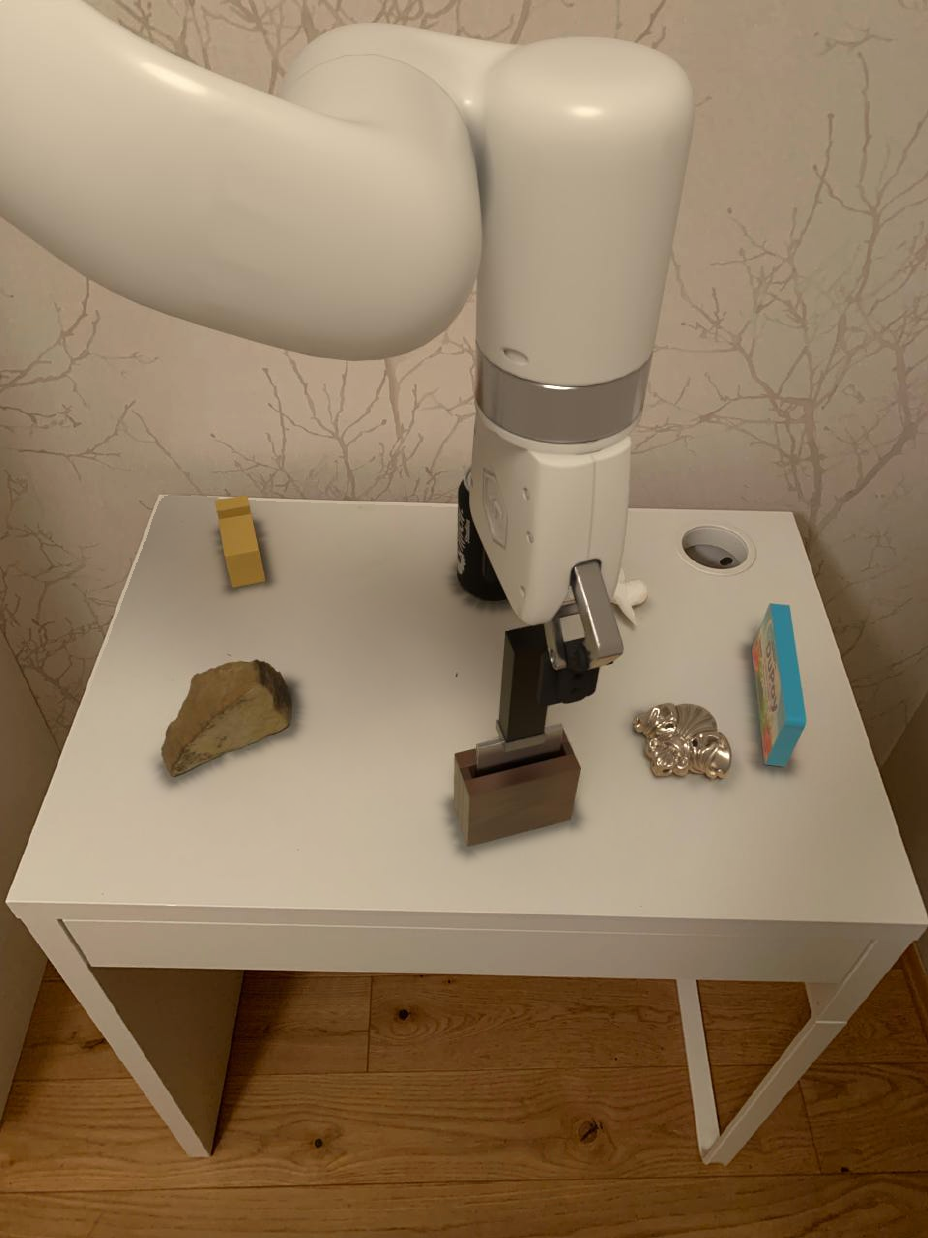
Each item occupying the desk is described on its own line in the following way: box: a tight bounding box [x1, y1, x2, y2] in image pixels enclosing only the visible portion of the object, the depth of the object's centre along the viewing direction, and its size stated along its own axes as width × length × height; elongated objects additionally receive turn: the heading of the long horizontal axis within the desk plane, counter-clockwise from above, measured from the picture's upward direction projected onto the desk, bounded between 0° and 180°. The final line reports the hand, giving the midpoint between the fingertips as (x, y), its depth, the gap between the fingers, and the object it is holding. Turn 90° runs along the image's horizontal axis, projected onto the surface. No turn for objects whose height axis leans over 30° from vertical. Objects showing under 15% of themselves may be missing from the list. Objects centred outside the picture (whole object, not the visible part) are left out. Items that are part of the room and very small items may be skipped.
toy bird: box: [611, 562, 650, 628], centre depth 80 cm, size 8×5×5 cm, turn 4°
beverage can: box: [456, 464, 508, 602], centre depth 79 cm, size 7×7×12 cm
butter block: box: [217, 513, 267, 589], centre depth 83 cm, size 3×5×4 cm, turn 17°
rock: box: [160, 658, 292, 777], centre depth 70 cm, size 11×9×10 cm
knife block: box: [453, 728, 582, 848], centre depth 65 cm, size 8×4×7 cm, turn 107°
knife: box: [475, 623, 564, 778], centre depth 60 cm, size 6×2×20 cm, turn 107°
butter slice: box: [214, 494, 252, 520], centre depth 86 cm, size 3×2×4 cm, turn 107°
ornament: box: [633, 702, 733, 779], centre depth 70 cm, size 8×7×4 cm
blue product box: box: [751, 602, 807, 768], centre depth 72 cm, size 12×2×6 cm, turn 173°
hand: (535, 632), depth 53 cm, fingers open, 9 cm apart
